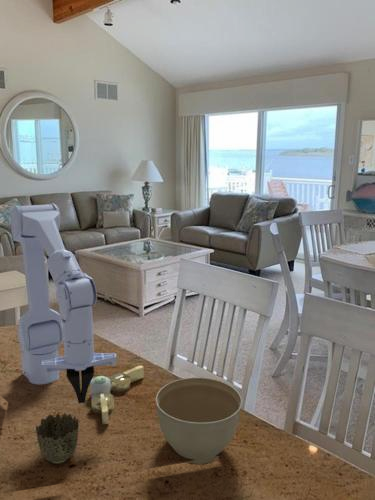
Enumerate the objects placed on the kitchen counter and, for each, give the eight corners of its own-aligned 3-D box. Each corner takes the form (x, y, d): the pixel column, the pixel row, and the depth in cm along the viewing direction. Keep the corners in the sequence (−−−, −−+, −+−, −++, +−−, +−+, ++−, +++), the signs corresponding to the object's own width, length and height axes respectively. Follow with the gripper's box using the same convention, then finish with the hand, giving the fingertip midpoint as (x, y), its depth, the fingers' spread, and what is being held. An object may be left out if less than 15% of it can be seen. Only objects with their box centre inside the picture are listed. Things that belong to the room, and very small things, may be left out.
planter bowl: (162, 484, 79) (162, 427, 77) (151, 429, 95) (150, 381, 92) (252, 472, 82) (254, 417, 80) (227, 421, 98) (228, 374, 95)
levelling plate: (48, 400, 106) (47, 376, 104) (109, 375, 117) (108, 354, 116) (90, 431, 94) (89, 405, 93) (153, 400, 106) (153, 377, 105)
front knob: (90, 403, 102) (90, 391, 101) (112, 400, 103) (112, 388, 102) (93, 426, 93) (93, 413, 93) (117, 423, 94) (117, 410, 94)
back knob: (118, 394, 106) (117, 382, 105) (105, 386, 109) (105, 375, 109) (148, 380, 112) (148, 369, 112) (136, 373, 116) (135, 362, 115)
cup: (69, 480, 80) (67, 438, 78) (30, 474, 81) (27, 433, 80) (87, 453, 87) (85, 415, 85) (51, 448, 89) (48, 410, 87)
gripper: (39, 350, 86) (43, 416, 88) (117, 342, 89) (119, 405, 92) (40, 335, 92) (45, 397, 95) (113, 329, 96) (115, 388, 99)
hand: (81, 400), depth 94 cm, fingers closed
